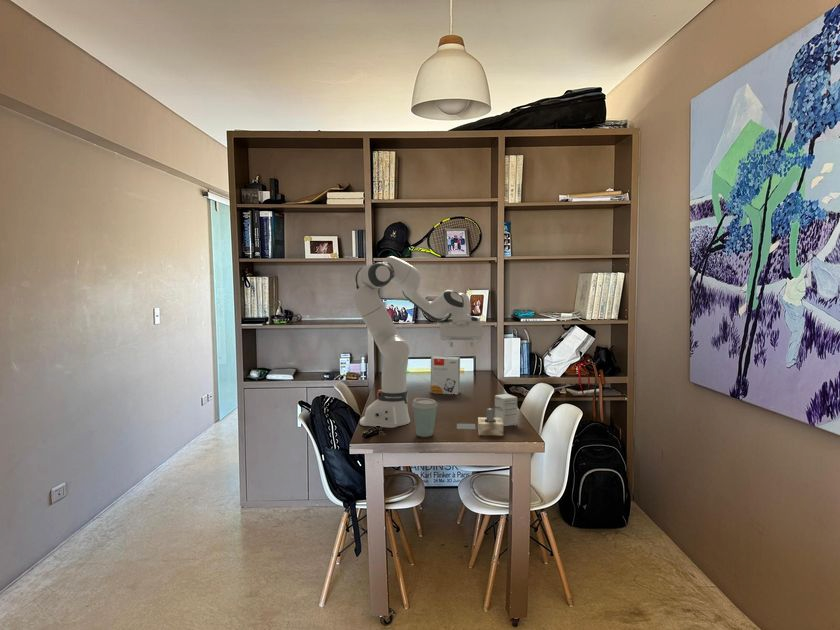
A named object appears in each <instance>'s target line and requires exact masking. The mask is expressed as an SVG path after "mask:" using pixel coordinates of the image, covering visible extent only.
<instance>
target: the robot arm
mask: <svg viewBox="0 0 840 630" xmlns="http://www.w3.org/2000/svg"><path fill="white" fill-rule="evenodd" d="M421 277H422V276H421V273H420V271H419V270H418V269H417V268H416V267H415V266H413V265H411V264H410V263H408V262H407V261H405V260H403V259H400V258H399V257H396V256H393V255H391V256H390V255H389V256H387V257H385V258H384V259H383V260H382V262H378V261H377V262H374V263H370V264H367V265H365V266H363V267H361V268H359V269H358V270H357V272H356V273H355V281H354V282H355V286H356V287H355V288H356V290H355V291H354V293H353V301H354V304H355V307H356V309H357V311H358V313H359V315H360V317H361V318H362V320H363V322H364V324H365V326H366V327H367V329H368V331H369V332H370V334H371V337H372V338H373V340H374V342H375V344H376V346H377V348H378V350H379V352H380V354H381V355H382V356H383V363H382V370H381V389H378V390H377V392H376V393H377V394H376V396H377V397H376V399H375V400H374V401H373V402H372V403H371V404H370V405H368V406H367V407H366V409H365V412H364V416H362V417H361V418H360V419H359V425H361V426H364V427H365V426H366V427H376V426H380V427H379V428H388V429H389V428H390V429H392V428H393V429H394V428H397V427H400V426H405V425H407V424H410V423H411V419H410V415H409V408H408V400H409V399H408V398H409V395H408V390H407V372H408V370H407V369H408V364H409V355H410V345H409V344H408V341H406V340H405V339H404V338H402V337H401V336H400V334H399V333H398V331H397V328H396V327H395V324H394V322H393V319H392V317H391V315H390V314H389V311H388V310H387V308H386V307H385V304H384V303H383V301H382V299H381V298H380V295H379V289H380V288H383V287H385V286H387V285H389V283H390V282H391V283H393V284H395V285H396V286H398V287H399V288H400V289H401V292H402V295H403V296H404V297H405V298H406V299H407V300H408V301H409V302H411V303H412V304H413V305H414V306H415V307H416V308H418V309H419V310H420V311H421V312H422V313H424V314H425V316H426V317H427V318H429V320H430V321H432V322H438V323H439V322H442V321H443V320H444V319H445V318H446V317H447V316H449V314H451V315H452V319H451V320H452V321H451V322H442V323H440V324H439V327H438V328H439V339H440V340H441V341H447V343H448V344H449V347H450V348H454V347H453V346H454V342H453V341H471V342H470V348H474V346H475V343H476V342H477V341H483V340H484V337H485V336H484V334H485V332H484V327H483V325H482V323H481V318H479V317H475V316H472V315H471V312H472V306H471V300H470V297H469V296H468V295H467V294H466V293H464V292H456V291H454V290H451V289H445V291H443V292H441V294H439V295H438V296H437V297H436V298H434V300H432V301H429V300H428V299H426V298H425V297H424V296H423V295H421V294H420V293H419V292H418V291H419V290H418V289H419V287H420V285H421Z"/></svg>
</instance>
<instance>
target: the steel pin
mask: <svg viewBox="0 0 840 630" xmlns="http://www.w3.org/2000/svg"><path fill="white" fill-rule="evenodd" d="M486 417H487V421H486V422H494V418H495V408H493V407H492V408H491V407H488V408H486Z"/></svg>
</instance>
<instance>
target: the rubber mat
mask: <svg viewBox="0 0 840 630" xmlns="http://www.w3.org/2000/svg"><path fill="white" fill-rule="evenodd" d="M456 430H476V423H456Z"/></svg>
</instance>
